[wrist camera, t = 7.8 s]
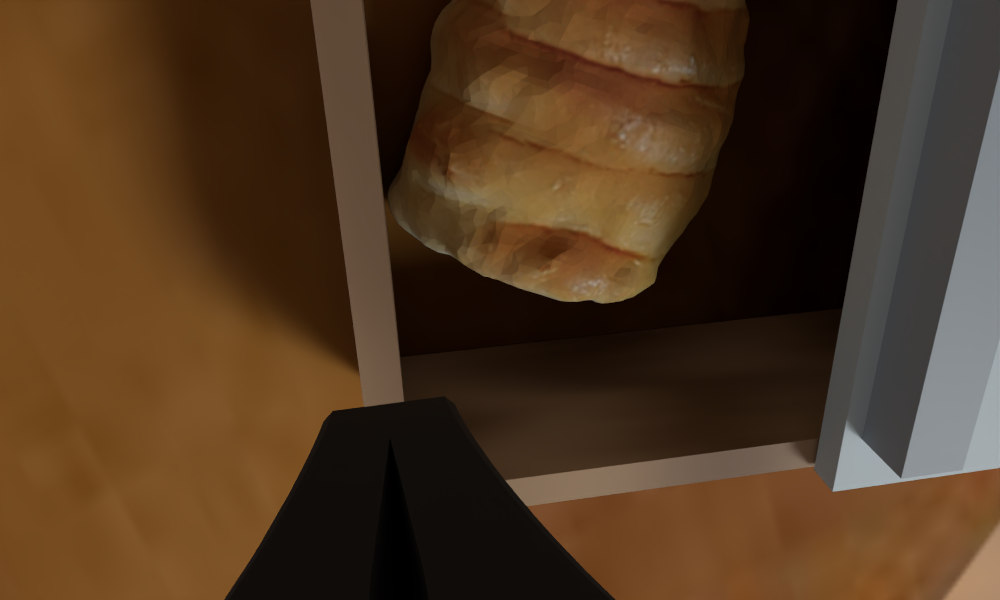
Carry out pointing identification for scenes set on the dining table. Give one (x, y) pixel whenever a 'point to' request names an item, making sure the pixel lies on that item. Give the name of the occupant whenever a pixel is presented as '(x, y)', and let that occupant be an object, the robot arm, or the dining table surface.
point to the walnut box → (571, 352)
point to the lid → (924, 263)
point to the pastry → (569, 137)
